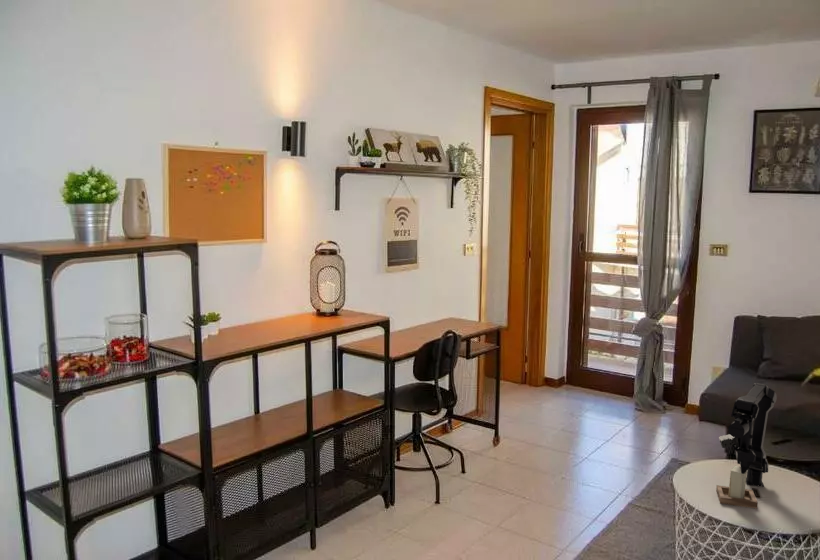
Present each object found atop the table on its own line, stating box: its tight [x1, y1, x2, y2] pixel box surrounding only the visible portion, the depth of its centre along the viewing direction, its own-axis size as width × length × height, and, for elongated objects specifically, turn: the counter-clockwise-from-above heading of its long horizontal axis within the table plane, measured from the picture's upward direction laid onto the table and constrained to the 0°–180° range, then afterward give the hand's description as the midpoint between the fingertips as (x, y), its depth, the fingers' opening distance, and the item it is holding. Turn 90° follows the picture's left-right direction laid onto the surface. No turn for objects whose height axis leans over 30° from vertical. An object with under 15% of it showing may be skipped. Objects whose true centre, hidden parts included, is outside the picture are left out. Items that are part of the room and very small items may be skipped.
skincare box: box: [728, 465, 747, 499], centre depth 257 cm, size 6×4×12 cm
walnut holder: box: [715, 484, 759, 509], centre depth 257 cm, size 11×13×2 cm
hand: (740, 468), depth 255 cm, fingers open, 9 cm apart
